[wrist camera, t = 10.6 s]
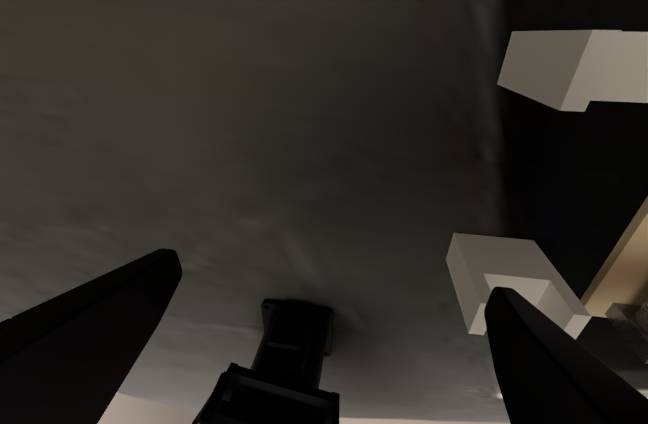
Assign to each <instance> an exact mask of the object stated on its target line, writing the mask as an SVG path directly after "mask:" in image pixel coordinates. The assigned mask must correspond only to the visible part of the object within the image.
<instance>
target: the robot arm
mask: <svg viewBox="0 0 648 424" xmlns="http://www.w3.org/2000/svg"><path fill="white" fill-rule="evenodd" d="M181 277H182V268H181V265H180V261H179V258H178V255H177V252H176V251H175V250H172V249H164V248H163V249H158V250H156V251H154V252H152V253H150V254H147V255H145V256H143V257H141V258H139V259H137V260H134V261H132V262H130V263H128V264H126V265H124V266H121V267H119V268H117V269H115V270H113V271H111V272H109V273H106V274H104V275H102V276H100V277H98V278H96V279H93V280H91V281H89V282H87V283H85V284H83V285H80V286H78V287H76V288H74V289H72V290H70V291H67V292H65V293H63V294H61V295H59V296H57V297H54V298H52V299H50V300H48V301H46V302H44V303H41V304H39V305H37V306H35V307H33V308H31V309H28V310H26V311H24V312H22V313H20V314H18V315H15V316H13V317H12V318H11V319H7V320H4V321H2V322H0V424H97V423H98V421H99V420H100V418H101V417H102V415H103V413H104V412H105V410H106V409H107V407H108V405H109V404H110V402H111V400H112V399H113V397H114V396H115V394H116V392H117V391H118V389H119V387H120V386H121V384H122V383H123V381H124V379H125V378H126V376H127V375H128V373H129V371H130V370H131V368H132V366H133V365H134V363H135V362H136V360H137V358H138V357H139V355H140V354H141V352H142V350H143V349H144V347H145V345H146V344H147V342H148V341H149V339H150V337H151V336H152V334H153V332H154V331H155V329H156V327H157V326H158V324H159V322H160V320H161V318H162V316H163V314H164V312H165V310H166V308H167V306H168V304H169V302H170V300H171V298H172V296H173V294H174V292H175V290H176V288H177V286H178V284H179V282H180V280H181ZM261 309H262V316H263V324H264V331H265V332H264V335H263V337H262V340H261V342H260V345H259V348H258V350H257V353H256V356H255V358H254V361H253V364H252V366H251V369H247V368H244V367H240V366H238V364H235V363H231V364H230V366H229V368H228V370H227V371H226V372H224V373H221V375H220V377H219V379H218V382H217V384H216V386H215V388H214V390H213V392H212V394H211V396H210V397H209V399H208V400H207V402H206V403H205V405H204V406H203V408H202V409H201V411H200V412H199V414H198V415H197V416H196V418H195V419H194V421H193V423H192V424H339V393H335V392H332V393H330V392H327V391H323V390H320V389H319V383H320V377H321V371H322V365H323V359H324V356H325V357H328V356H330V355H331V347H332V325H333V310H332V309H330V308H326V307H319V306H311V305H303V304H296V303H288V302H280V301H273V300H264V301H263V302H262V305H261ZM327 313H328V314H327ZM484 317H485V322H486V328H487V333H488V338H489V343H490V349H491V354H492V359H493V364H494V369H495V373H496V377H497V380H498V384H499V387H500V390H501V394H502V397H503V400H504V403H505V407H506V410H507V413H508V416H509V420H510V423H511V424H648V399H647V398H646V397H645V396H644V395H642V394H641V393H640V392H639V391H637V390H636V389H635V388H634V387H633V386H631V385H630V384H629V383H628V382H627V381H625V380H624V379H623V378H622V377H620V376H619V375H618V374H617V373H616V372H614V371H613V370H612V369H611V368H609V367H608V366H607V365H606V364H605V363H603V362H602V361H601V360H600V359H598V358H597V357H596V356H595V355H594V354H592V353H591V352H590V351H589V350H587V349H586V348H585V347H584V346H583V345H581V344H580V343H579V342H578V341H576V340H575V339H574V338H573V337H572V336H570V335H569V334H568V333H567V332H565V331H564V330H563V329H562V328H561V327H559V326H558V325H557V324H556V323H554V322H553V321H552V320H551V319H550V318H548V317H547V316H546V315H545V314H543V313H542V312H541V311H540V310H539V309H537V308H536V307H535V306H534V305H532V304H531V303H530V302H529V301H528V300H526V299H525V298H524V297H523V296H521V295H520V294H519V293H518V292H517V291H515V290H514V289H512V288H508V287H499V286H497V287H494V288H493V290H492V292H491V294H490V296H489V299H488V301H487V304H486V306H485V309H484Z"/></svg>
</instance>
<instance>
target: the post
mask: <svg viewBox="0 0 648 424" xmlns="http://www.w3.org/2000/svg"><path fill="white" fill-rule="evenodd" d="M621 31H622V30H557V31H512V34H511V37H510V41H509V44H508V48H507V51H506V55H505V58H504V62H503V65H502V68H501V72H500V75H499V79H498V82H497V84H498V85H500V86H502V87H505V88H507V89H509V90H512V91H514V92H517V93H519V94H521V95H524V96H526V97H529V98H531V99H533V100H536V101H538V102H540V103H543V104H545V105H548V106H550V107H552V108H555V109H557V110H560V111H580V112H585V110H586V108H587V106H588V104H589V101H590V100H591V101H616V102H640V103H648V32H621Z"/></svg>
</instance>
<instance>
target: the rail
mask: <svg viewBox="0 0 648 424" xmlns="http://www.w3.org/2000/svg"><path fill="white" fill-rule="evenodd" d="M605 315H606V316H607V318H608V319H609V320H610V321H611V322H612V324H613V325H614V326H615V327H616V329H617V330H618V331H619V332H620V334H621V335H622V336H623V337H624V338H625V340H626V341H627V342H628V343H629V345H630V346H631V347H632V348H633V350H634V351H635V352H636V353H637V354H638V356H639V357H640V358H641V359H642V361H643V362H644V363H647V364H648V298H647V300H646V301H645V302H644V303H643V305H642V306H640V305H631V304H622V303H614V302H613V303H612V305H611V306H610V307H609V309H608V310H607V311H606V313H605Z"/></svg>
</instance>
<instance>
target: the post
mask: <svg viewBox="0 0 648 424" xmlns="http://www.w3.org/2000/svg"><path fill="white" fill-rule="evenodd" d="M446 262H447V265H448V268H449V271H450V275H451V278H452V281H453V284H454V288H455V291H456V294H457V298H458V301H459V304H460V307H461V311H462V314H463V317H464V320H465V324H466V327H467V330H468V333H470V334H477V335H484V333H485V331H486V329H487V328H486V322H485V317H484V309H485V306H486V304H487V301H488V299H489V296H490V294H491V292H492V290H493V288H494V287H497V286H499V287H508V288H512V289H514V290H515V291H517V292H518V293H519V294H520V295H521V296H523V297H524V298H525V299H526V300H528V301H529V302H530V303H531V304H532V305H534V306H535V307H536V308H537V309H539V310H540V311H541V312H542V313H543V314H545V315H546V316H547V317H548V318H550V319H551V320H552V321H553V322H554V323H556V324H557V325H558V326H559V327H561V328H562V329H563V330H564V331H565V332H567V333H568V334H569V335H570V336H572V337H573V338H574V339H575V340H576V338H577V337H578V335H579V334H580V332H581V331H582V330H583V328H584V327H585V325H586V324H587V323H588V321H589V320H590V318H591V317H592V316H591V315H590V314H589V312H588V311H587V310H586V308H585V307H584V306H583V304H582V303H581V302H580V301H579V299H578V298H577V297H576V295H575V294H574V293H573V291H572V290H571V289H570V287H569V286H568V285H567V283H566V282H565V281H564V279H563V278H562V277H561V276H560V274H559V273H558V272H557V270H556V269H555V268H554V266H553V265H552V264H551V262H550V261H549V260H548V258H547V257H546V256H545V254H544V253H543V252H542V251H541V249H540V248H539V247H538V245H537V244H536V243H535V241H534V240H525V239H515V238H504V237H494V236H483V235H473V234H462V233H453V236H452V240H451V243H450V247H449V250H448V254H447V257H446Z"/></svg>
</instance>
